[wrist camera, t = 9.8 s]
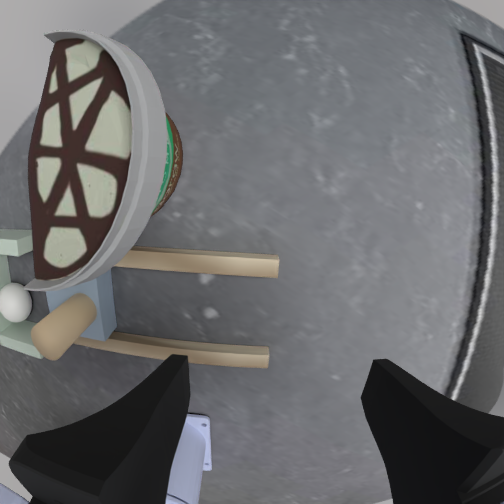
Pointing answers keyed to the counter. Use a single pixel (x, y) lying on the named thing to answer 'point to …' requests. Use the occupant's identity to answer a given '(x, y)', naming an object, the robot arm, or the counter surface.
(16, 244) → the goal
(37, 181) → the food container
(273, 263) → the lane
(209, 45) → the counter surface
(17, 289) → the ball
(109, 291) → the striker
